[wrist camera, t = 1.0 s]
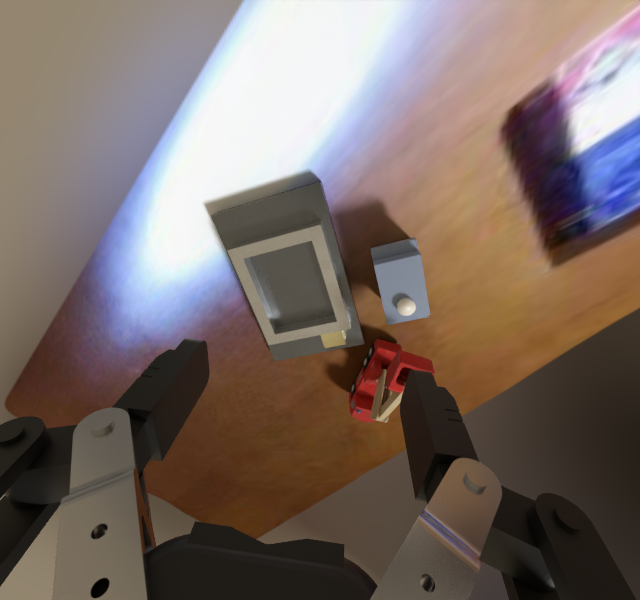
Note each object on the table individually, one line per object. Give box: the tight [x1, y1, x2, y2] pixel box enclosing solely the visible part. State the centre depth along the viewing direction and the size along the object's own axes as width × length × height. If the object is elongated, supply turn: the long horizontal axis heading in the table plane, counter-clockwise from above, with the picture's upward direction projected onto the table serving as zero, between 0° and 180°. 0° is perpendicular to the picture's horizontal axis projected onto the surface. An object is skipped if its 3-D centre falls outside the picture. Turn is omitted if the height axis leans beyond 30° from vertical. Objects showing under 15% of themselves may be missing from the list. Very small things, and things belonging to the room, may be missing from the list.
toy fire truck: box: [349, 339, 434, 423], centre depth 33 cm, size 3×14×10 cm, turn 163°
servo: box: [370, 237, 430, 325], centre depth 30 cm, size 4×8×6 cm, turn 17°
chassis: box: [211, 181, 365, 361], centre depth 32 cm, size 11×18×3 cm, turn 17°
